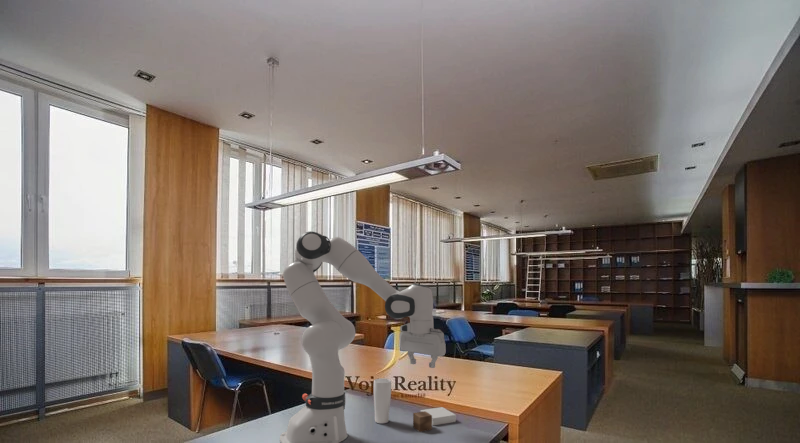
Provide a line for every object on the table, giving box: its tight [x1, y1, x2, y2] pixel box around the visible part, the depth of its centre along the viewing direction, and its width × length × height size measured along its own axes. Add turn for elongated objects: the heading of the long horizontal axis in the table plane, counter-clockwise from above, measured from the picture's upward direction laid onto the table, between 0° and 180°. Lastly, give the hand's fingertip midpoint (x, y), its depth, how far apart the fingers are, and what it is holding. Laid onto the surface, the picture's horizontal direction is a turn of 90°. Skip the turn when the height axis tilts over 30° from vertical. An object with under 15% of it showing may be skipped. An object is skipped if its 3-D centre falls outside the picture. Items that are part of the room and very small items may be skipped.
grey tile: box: [419, 406, 457, 426], centre depth 161 cm, size 10×10×2 cm
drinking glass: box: [373, 377, 392, 425], centre depth 158 cm, size 7×7×15 cm
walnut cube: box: [412, 411, 433, 433], centre depth 151 cm, size 5×5×5 cm
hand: (422, 365), depth 154 cm, fingers open, 8 cm apart
